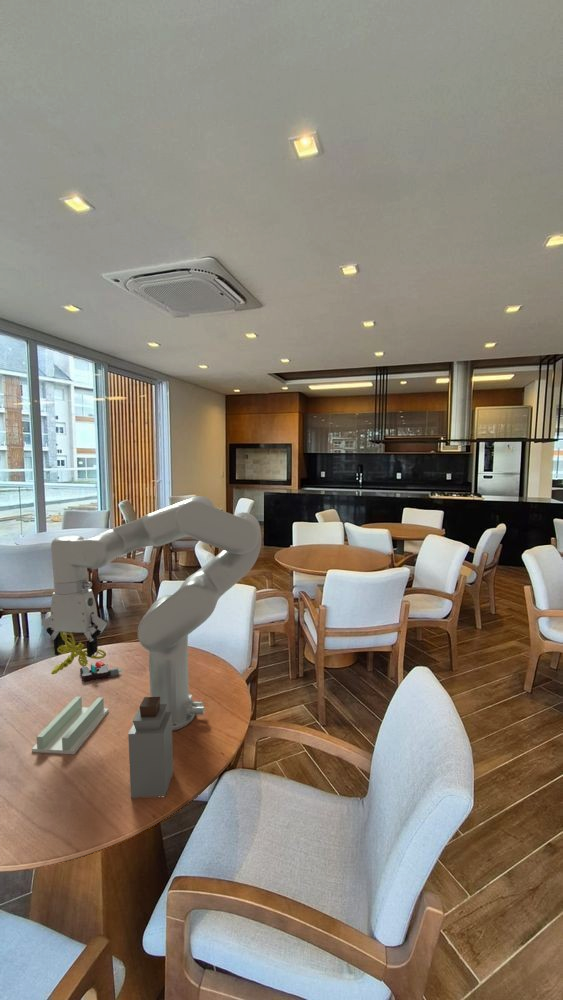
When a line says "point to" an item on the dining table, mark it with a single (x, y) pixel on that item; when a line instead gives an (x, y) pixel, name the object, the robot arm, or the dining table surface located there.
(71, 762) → the dining table surface
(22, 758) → the dining table surface
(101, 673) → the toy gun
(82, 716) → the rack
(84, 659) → the decorative insect
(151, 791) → the perfume bottle
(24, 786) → the dining table surface
